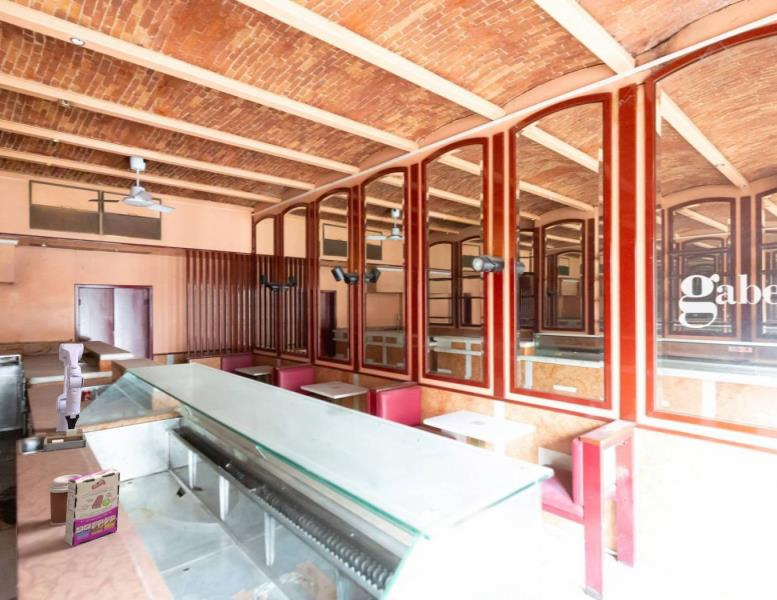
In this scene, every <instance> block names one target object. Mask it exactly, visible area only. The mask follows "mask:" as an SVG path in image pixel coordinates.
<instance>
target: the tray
mask: <svg viewBox="0 0 777 600" xmlns="http://www.w3.org/2000/svg"><path fill="white" fill-rule="evenodd" d="M81 448H87V439H86V434H84V433H83V435H82V440H78V441H68V442H61V443H49V444H47V438H46V437H45V438H44V440H43V452H44V453H45V452H54V451H55V450H56V451H65V450H72V449H81ZM56 451H55V452H56Z"/></svg>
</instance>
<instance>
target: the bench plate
mask: <svg viewBox="0 0 777 600" xmlns="http://www.w3.org/2000/svg"><path fill="white" fill-rule="evenodd" d="M82 435H84V432H83V429H82V428H81V429H78V428H77V435H71V436H66V431H56V430H55V431H45V438H47V444H49V443H52V440H61V439H63V442H68V441H78V440H82Z"/></svg>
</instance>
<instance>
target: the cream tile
mask: <svg viewBox="0 0 777 600" xmlns="http://www.w3.org/2000/svg"><path fill="white" fill-rule="evenodd" d="M61 442H63V439H61V440H52V443H61Z"/></svg>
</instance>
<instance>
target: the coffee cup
mask: <svg viewBox="0 0 777 600" xmlns="http://www.w3.org/2000/svg"><path fill="white" fill-rule="evenodd" d="M81 476H82V475H81V474H76V473H75V474H65V475H60V476H57V477H55V478H53V480H52V482H51V483H50V484H49V485H48V487H47V490H46V491H47V492H49V496H50V497H49V498H50V501H49V503H50V525H51V526H57V527H58V526H61V527H62V526H66V513H67V496H68V480H69V479H73V478H77V477H81Z"/></svg>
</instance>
